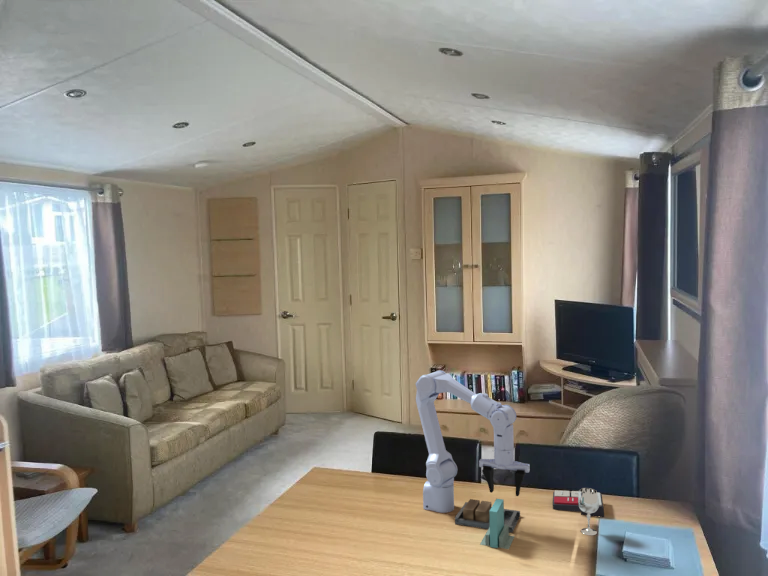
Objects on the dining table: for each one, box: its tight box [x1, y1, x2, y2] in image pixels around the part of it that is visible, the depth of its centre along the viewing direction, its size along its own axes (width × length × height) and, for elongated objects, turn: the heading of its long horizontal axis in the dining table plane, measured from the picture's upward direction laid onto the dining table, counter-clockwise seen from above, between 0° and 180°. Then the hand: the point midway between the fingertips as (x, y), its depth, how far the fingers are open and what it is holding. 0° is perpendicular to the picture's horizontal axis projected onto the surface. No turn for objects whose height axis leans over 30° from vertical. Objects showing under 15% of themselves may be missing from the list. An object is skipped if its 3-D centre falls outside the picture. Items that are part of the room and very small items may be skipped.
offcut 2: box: [475, 500, 493, 522], centre depth 181 cm, size 3×8×4 cm, turn 157°
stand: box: [479, 525, 515, 550], centre depth 167 cm, size 8×8×4 cm
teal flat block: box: [489, 498, 505, 549], centre depth 167 cm, size 2×9×10 cm, turn 157°
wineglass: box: [578, 487, 599, 536], centre depth 173 cm, size 6×6×12 cm
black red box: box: [552, 489, 605, 518], centre depth 190 cm, size 11×4×15 cm
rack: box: [454, 501, 521, 534], centre depth 181 cm, size 17×12×3 cm
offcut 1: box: [463, 498, 481, 520], centre depth 183 cm, size 3×8×4 cm, turn 157°
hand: (504, 493), depth 177 cm, fingers open, 7 cm apart
